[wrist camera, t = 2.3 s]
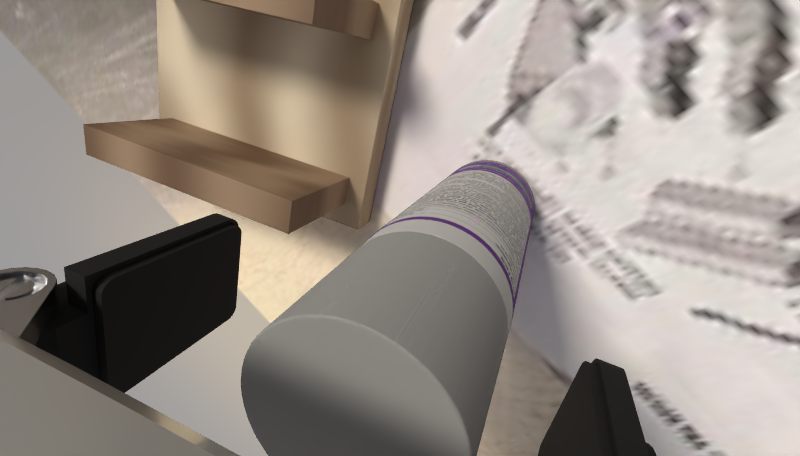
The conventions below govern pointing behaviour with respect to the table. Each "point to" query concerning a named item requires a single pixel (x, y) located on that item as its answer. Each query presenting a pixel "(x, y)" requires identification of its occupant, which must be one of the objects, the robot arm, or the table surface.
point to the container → (399, 330)
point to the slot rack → (268, 106)
